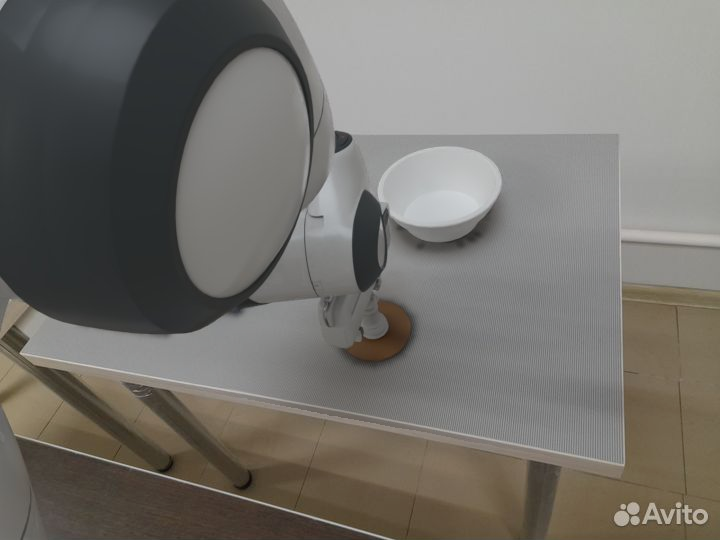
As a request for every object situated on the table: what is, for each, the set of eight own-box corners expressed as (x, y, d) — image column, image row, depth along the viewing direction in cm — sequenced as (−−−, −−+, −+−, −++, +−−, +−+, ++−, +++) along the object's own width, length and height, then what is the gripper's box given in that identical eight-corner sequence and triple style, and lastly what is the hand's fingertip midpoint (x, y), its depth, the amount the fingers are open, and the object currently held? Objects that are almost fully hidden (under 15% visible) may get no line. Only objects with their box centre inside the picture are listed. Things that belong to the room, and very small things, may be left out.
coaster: (401, 367, 76) (400, 365, 75) (331, 355, 79) (330, 353, 79) (418, 307, 82) (418, 305, 82) (353, 299, 86) (352, 297, 86)
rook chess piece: (355, 336, 80) (344, 304, 74) (367, 314, 83) (358, 281, 77) (381, 344, 78) (373, 312, 73) (393, 321, 81) (385, 288, 75)
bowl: (414, 278, 86) (408, 244, 80) (367, 206, 101) (359, 173, 95) (525, 230, 89) (528, 194, 83) (464, 167, 103) (463, 131, 97)
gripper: (346, 312, 59) (367, 375, 69) (392, 195, 72) (404, 263, 82) (296, 305, 61) (323, 367, 71) (349, 192, 74) (366, 259, 84)
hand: (366, 311), depth 77 cm, fingers open, 8 cm apart
